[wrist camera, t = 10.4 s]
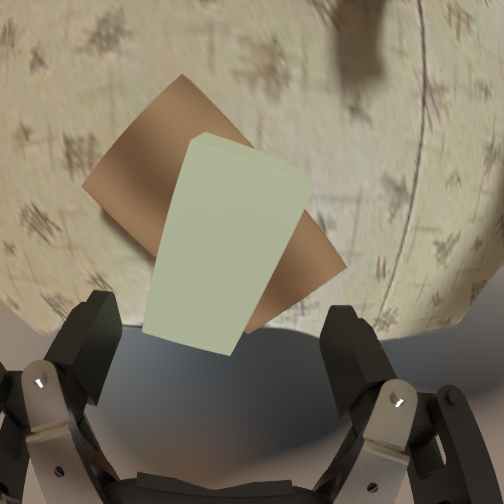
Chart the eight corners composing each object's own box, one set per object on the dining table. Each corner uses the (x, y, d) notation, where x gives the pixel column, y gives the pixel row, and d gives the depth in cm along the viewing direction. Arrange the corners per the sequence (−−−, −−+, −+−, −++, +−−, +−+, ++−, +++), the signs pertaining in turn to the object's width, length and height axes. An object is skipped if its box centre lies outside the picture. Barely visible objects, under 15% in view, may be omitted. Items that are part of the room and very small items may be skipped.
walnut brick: (192, 81, 15) (181, 74, 12) (330, 241, 22) (347, 267, 18) (106, 171, 18) (81, 186, 14) (245, 302, 24) (248, 334, 21)
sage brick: (291, 163, 15) (315, 186, 10) (230, 300, 19) (230, 355, 15) (205, 131, 14) (190, 139, 9) (160, 280, 18) (142, 332, 13)
